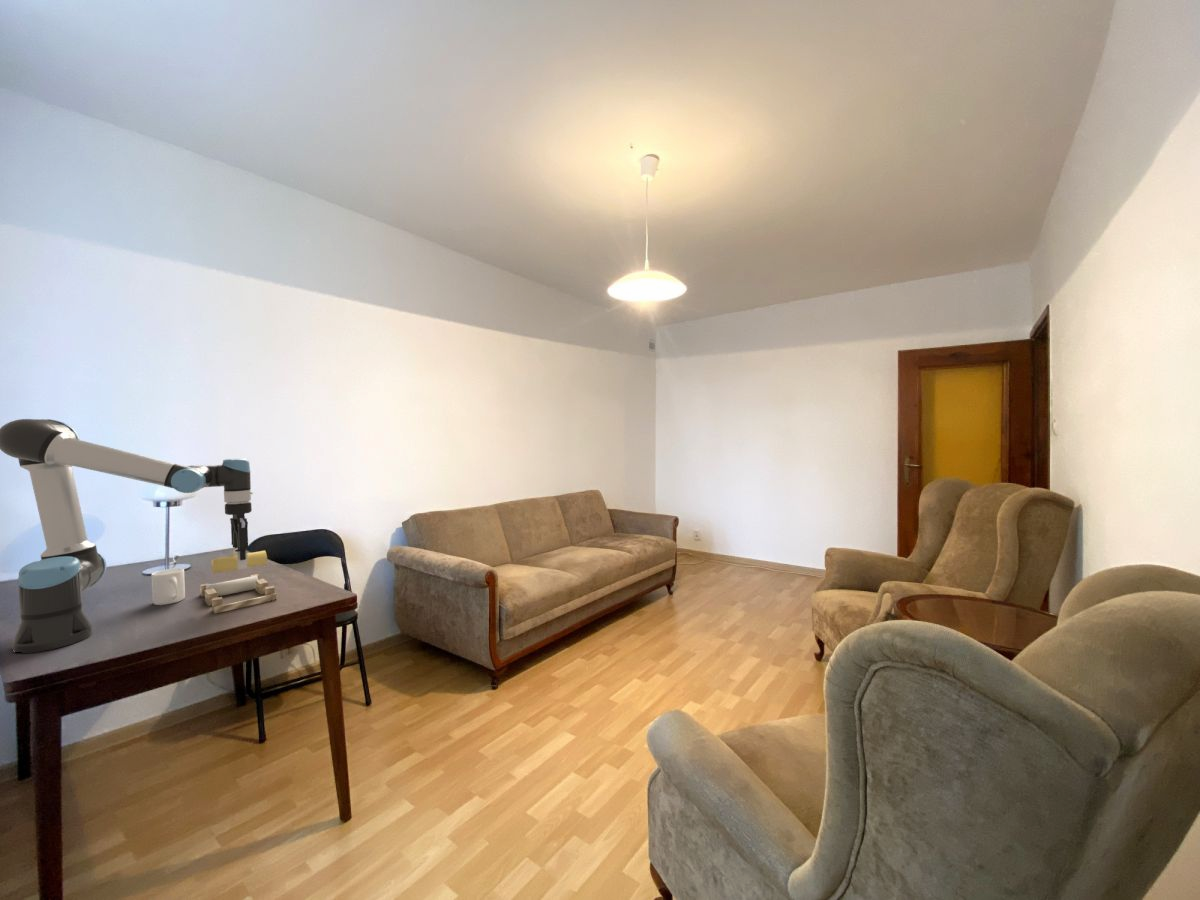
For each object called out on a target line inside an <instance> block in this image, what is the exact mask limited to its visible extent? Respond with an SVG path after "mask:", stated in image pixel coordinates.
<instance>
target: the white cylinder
mask: <svg viewBox="0 0 1200 900" xmlns="http://www.w3.org/2000/svg"><path fill="white" fill-rule="evenodd" d="M255 580H258V576H251V577H250V576H247V577H241V578H237V579H231V580H227V581H221V582H216V583H211V584H210V583H209V584H210V585H207V586H206V590H208V589H213V588H214V589H215V591H216V592H217V598H218V597H219V596H220V597H223V596H228V595H233V594H239V593H242V592H248V591H253V590H256V581H255Z"/></svg>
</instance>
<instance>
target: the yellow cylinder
mask: <svg viewBox="0 0 1200 900" xmlns="http://www.w3.org/2000/svg"><path fill="white" fill-rule="evenodd" d="M267 563H268V555H267V552H266V550H260V551H255V552H247V567H248V568H253V567H258V566H263V565H267ZM236 570H238V567H237V555H235V556H233V555H231V556H230V555H229V556H224V557H218V558H212V559H211V571H212V574H213V575H214V574H215V575H216V574H219V573H226V572H230V571H231V572H232V571H236Z"/></svg>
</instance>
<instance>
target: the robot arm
mask: <svg viewBox="0 0 1200 900" xmlns="http://www.w3.org/2000/svg"><path fill="white" fill-rule="evenodd" d="M0 451H1V452H2V453H4V454H5V455H7V456H9V457H12V458H15V459H17V460H18V464H19V467H20V468H22V469H24V470H27V471H28V472H29V476H30V481H31V485H32V488H33V493H34V498H35V502H36V506H37V511H38V514H39V520H40V525H41V528H42V533H43V537H44V541H45V542H44V543H45V545H46V549H45V550H44V551H43V552H42V553H41V554H40V560H36V561H32V562H29V563H27V564H26V565H24V566H23V567H21V568H20V569H19V572H18V577H17V584H18V595H19V597H18V599H19V612H20V623H19V626H18V628H17V630H16V633H15V636H14V638H13V640H12V642H11V644H12V645H11V647H12V649H13V650H14V651H15V652H22V653H21V654H31V653H32V654H33V653H37V652H38V653H39V652H44V651H45V652H46V651H49V650H54V649H58V648H62V647H67V646H70V645H73V644H76V643H79V642H82V641H83V640H85V639H87V638H89V637H90V636H91V635H93V626H92V624H91V622H90V621H89V618H88V617H87V615H86V613H85V612H84V610H83V598H82V597H83V595H82V592H83V591H85V590H86V589H88V588H90V587H92V586H94V585H96V583H98V582H99V581H100V579H101V578H102V577H104V575H105V573H106V570H107V561H106V558H104V556H103V555H102V554H101V553H99V552H98V548H97V545H96V543H94V542H91V541H90V540H88V537H87V536H88V535H87V532H86V527H85V523H84V522H85V521H84V518H83V513H82V512H83V511H82V508H81V504H80V503H81V502H80V499H79V494H78V489H77V485H76V480H75V477H74V471H73V467H76V468H81V469H85V470H90V471H96V472H99V473H103V474H108V475H112V476H113V475H114V476H118V477H122V478H127V479H131V480H136V481H140V482H144V483H147V484H153V485H156V486H157V485H158V486H162V487H166V488H169V489H174V490H176V491H177V492H179V493H182V494H183V493H184V494H192V493H195V492H198V491H199V490H201V489H203V488H212V487H216V488H218V487H223V501H224V503H225V504H224V514H225V515H226V516H232V517H230V519H229V521H230V531H231V532H230V534H231V546H232V550H233V551H232V553H233V555H232V556H235V555H237V567H238V569H237V570H244V569H249V567H247V553H248V550H249V533H248V529H249V528H248V524H249V523H248V519H247V517H245V516H246V515H245V514H250V513H251V512H252V510H253V509H252V502H251V501H252V495H253V494H254V493H253V491H252V490H251V487H252V484H251V483H252V482H251V468H250V461H249V460H248V459H247V458H226V459H223V461H222V463H221V464H218V465H217V464H215V465H212V464H211V465H208V464H207V465H192V464H191V465H188V466H187V465H183V464H177V463H173V462H171V461H165V460H161V459H158V458H153V457H149V456H145V455H141V454H137V453H133V452H129V451H125V450H121V449H116V448H114V447H110V446H109V447H108V446H104V445H101V444H98V443H93V442H89V441H85V440H81V439H80V435H79V434H78V432H77V431H76V429H75V428H73V426H71V425H69V424H68V423H65V422H64V421H63V422H62V421H59V420H55V419H49V418H48V419H43V418H42V419H33V418H21V419H15V420H12V421H10V422H7V423H5V424H4V425H2V426H1V427H0ZM12 649H11V650H12ZM15 652H14V653H15Z"/></svg>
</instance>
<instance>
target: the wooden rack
mask: <svg viewBox="0 0 1200 900" xmlns="http://www.w3.org/2000/svg"><path fill="white" fill-rule="evenodd" d="M251 576H258V580H255V581H256V589H255V592H257V593H258V594H259V595H262V596H258V597H252V598H248V599H244V600H239V601H235V602H230V603H226V604H224V602H223V601H224V600H223V599H224V598H223V596H220V597H217V592H216V591H215V589H214V588H213V589H208V590H206V586H207V585H210V583H204V584H199V585H200V588H199V593H200V597H202V598H204V601H205V603H206V605H207V606H208V607H210V606H211V609H212V610H211V611H212V613H214V614H215V615H216V614H218V613H219V614H220V613H223V612H228V611H232V610H236V609H242V608H246V607H250V606H254V605H260V604H262V603H263V604H264V603H267V602H268V603H269V602H271V600H272V601H276V600H275V599H277V597H278V596H277V593H276V587H275V586H274V585H271V586H269V581H268V580H266V579H264V578H260V575H259V574H257V573H256V574H251V575H249V577H251Z"/></svg>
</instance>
